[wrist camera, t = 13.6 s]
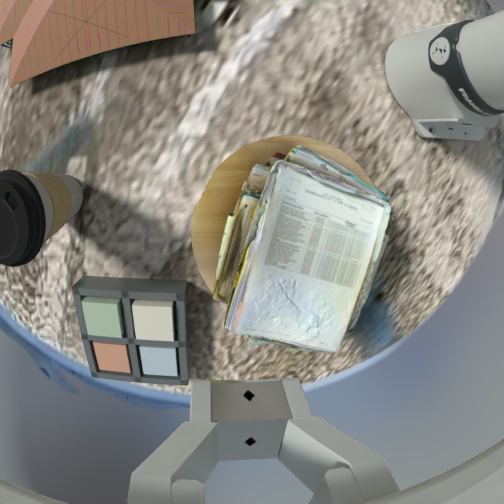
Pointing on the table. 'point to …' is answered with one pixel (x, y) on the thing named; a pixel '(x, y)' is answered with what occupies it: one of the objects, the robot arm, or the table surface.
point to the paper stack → (290, 241)
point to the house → (84, 29)
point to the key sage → (103, 316)
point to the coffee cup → (33, 212)
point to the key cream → (154, 319)
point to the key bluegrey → (159, 360)
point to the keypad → (128, 293)
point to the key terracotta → (113, 356)
